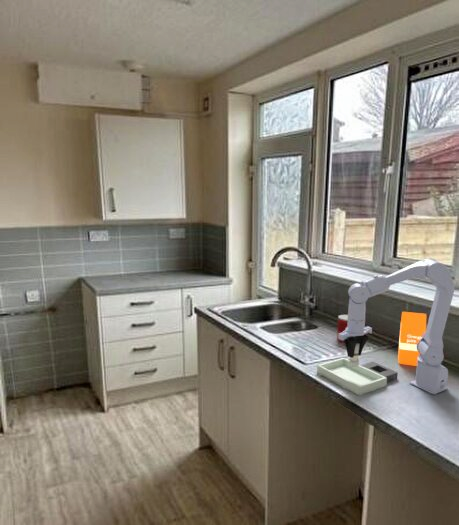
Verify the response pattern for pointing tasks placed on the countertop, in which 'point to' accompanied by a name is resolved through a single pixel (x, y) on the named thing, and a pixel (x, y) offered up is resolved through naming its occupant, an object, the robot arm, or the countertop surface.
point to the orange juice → (410, 337)
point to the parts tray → (352, 376)
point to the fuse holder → (382, 371)
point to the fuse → (355, 357)
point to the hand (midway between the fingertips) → (354, 355)
